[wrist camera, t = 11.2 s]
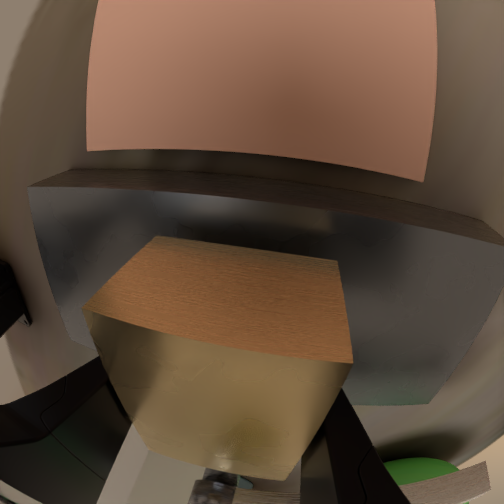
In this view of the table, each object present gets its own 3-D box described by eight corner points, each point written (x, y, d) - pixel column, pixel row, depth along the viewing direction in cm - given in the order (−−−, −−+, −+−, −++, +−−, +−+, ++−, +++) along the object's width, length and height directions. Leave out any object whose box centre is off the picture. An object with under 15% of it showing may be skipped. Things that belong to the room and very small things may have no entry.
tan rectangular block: (178, 384, 11) (148, 450, 8) (156, 235, 8) (81, 307, 5) (293, 406, 10) (284, 480, 7) (337, 260, 7) (353, 363, 4)
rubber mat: (95, 148, 11) (87, 151, 10) (110, -18, 7) (103, -21, 6) (417, 179, 9) (423, 182, 9) (426, -15, 5) (431, -20, 5)
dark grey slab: (112, 356, 18) (65, 426, 12) (69, 170, 12) (-42, 221, 6) (388, 404, 15) (397, 493, 9) (482, 220, 9) (577, 313, 3)
